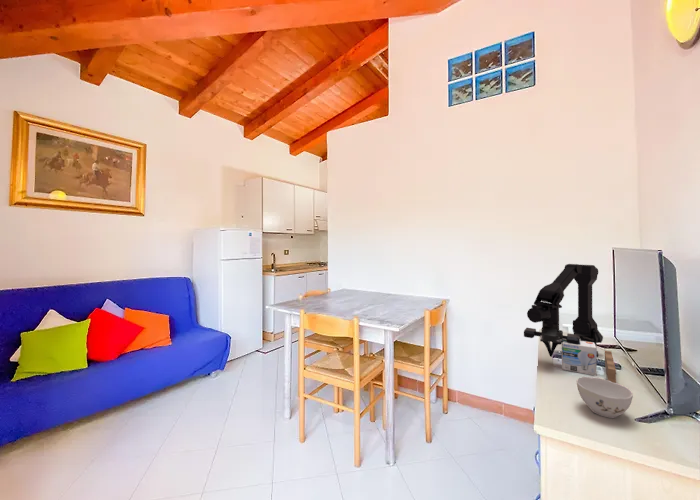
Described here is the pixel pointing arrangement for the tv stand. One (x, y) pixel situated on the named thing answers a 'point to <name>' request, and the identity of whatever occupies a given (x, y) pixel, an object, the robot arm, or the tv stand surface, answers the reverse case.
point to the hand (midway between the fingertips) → (551, 356)
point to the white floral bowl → (604, 396)
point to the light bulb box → (579, 357)
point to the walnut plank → (610, 367)
